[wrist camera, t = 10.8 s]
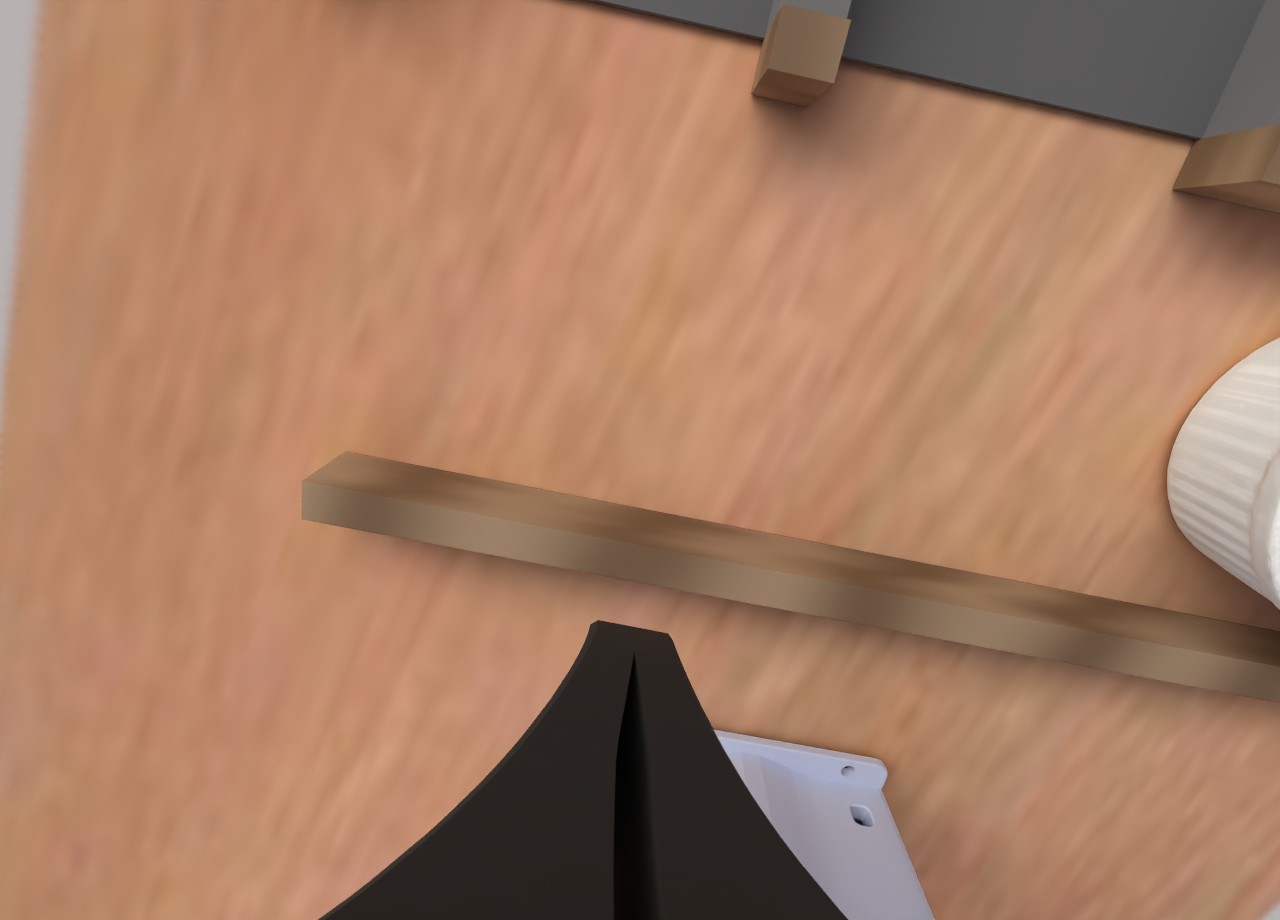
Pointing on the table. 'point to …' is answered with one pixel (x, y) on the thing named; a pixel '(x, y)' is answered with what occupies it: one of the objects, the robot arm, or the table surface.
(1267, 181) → the walnut channel
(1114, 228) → the table surface
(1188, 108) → the grey e-shaped block
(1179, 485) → the ramekin
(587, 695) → the robot arm
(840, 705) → the table surface
